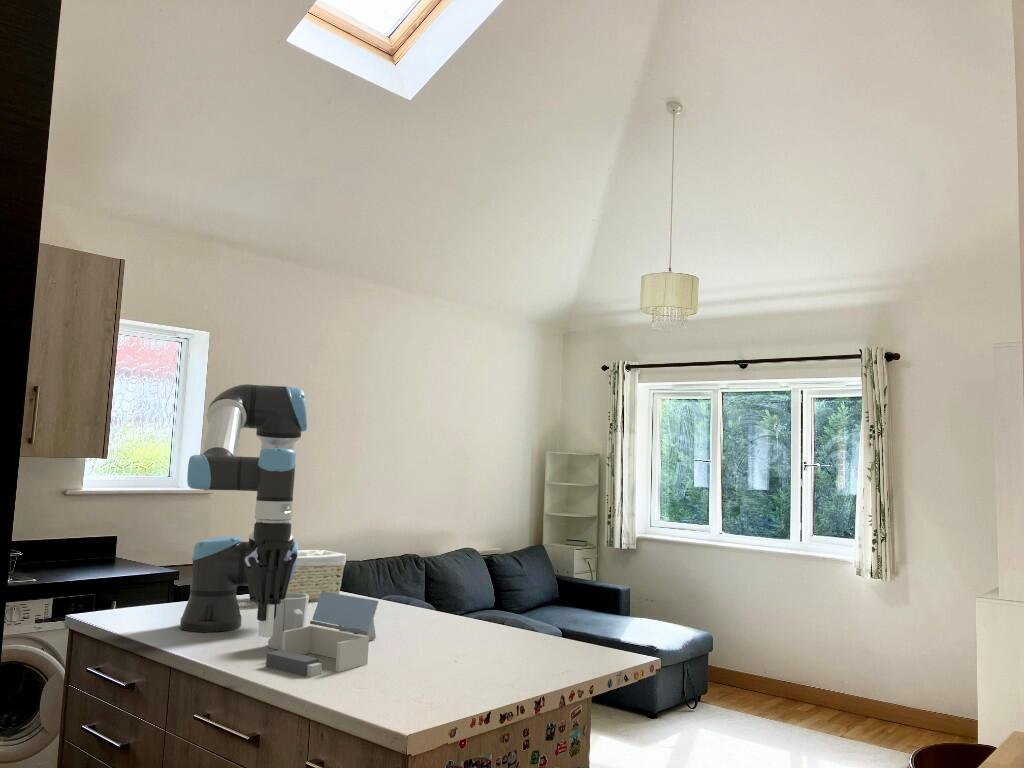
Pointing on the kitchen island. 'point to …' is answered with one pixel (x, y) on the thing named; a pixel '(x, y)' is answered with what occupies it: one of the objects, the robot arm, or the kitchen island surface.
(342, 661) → the white u-shaped bracket
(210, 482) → the robot arm
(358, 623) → the cover
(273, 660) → the dark grey block
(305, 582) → the storage basket
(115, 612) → the kitchen island surface
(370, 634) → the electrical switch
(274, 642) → the cup
